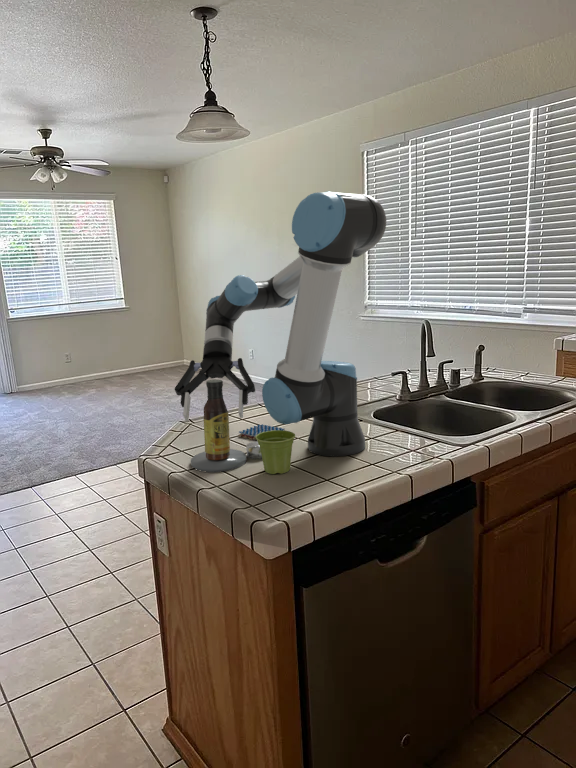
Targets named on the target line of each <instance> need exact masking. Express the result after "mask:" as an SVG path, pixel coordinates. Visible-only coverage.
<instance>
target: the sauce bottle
mask: <svg viewBox="0 0 576 768" xmlns="http://www.w3.org/2000/svg"><path fill="white" fill-rule="evenodd" d="M205 382H206V383H205V384H206V385H205V386H206V387H207V401H206V403H205V404H204V406H203V431H204V433H203V436H204V452H206V458H207V459H208V460H212V461H216V460H224V459H226V458H228V457H229V455H230V453H229V452H230V449H231V445H230V423H229V422H230V421H229V420H230V419H229V417H230V416H229V410H228V408H227V405H226V403H225V400H224V395H223V386H224V384H223V380H221V379H207V380H206V381H205Z"/></svg>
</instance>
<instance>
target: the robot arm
mask: <svg viewBox="0 0 576 768" xmlns="http://www.w3.org/2000/svg"><path fill="white" fill-rule="evenodd" d="M386 228H387V214H386V212H385V209H384V207H383V205H382V204H381V203H380V202H379V201H378V200H377V199H376V198H374V197H372V196H370V195H368V194H365V193H350V192H349V193H347V192H336V191H329V190H328V191H324V192H323V191H322V192H320V191H319V192H313V193H310V194H309V195H307V196H306V197H304V198H303V199H302V200H301V201H300V202H299V203H298V205H297V207H296V208H295V211H294V213H293V216H292V219H291V232H292V234H293V240H294V242H295V244H296V245H297V246H298V252H297V254H298V255H299V256H298V257H297V258H295V260H293V261H291V263H289V264H288V265H287V266H285V267H284V268H283V269H281V270H280V271H279V272H277V273H276V274H275V275H274V276H272V277H271V278H270V279H268V280H262V281H261V280H260V281H255V280H253V279H252V277H249V276H246V275H244V274H239V275H236V276H235V277H233V279H232V280H231V281H230V282H229V283H228V284H227V285H226V286H225V288H224V289H223V291H222V293H220V295H216V296H215V297H211V298H210V300H208V303H207V308H206V318H205V320H206V321H205V329H204V330H205V333H204V340H203V341H204V342H203V351H202V352H203V353H202V354H203V355H202V361H200V362H196V360H193V359H192V360H191V361H190V362H189V365H188V368H187V370H186V371H185V372H184V373H183V376H181V378H180V380H178V382H177V383H176V386H174V392H175V393H176V395H177V396H180V405H181V407H182V408H183V413H182V415H183V418H184V420H185V421H189V419H190V411H191V410H190V409H191V407H190V406H191V399H192V398H191V396H190V395H191V394H192V393H193V392H194V391H195V390H196V389H197V388H198V387H199V386H200V385H201V384H203V382H204V381H205V382H206V381H208V380H209V378H210V379H217V378H218V379H223V378H224V377H226V379H228V380H229V381H231V383H232V384H233V385H234V386H235V387H236V388H237V389H238V390H239V391H238V409H237V410H238V416H239V419H243V418H244V406H245V405H248V403H249V394H250V393H256V387H255V383H254V381H253V380H252V377H250V375H249V373H248V372H247V370H246V368H245V365H244V362H243V359H242V358H241V357H239V358H238V359H237V360H232V357H233V343H234V342H233V339H234V338H233V337H234V326H235V323H236V322H237V320H239V318H240V317H241V316H242V315H243V314H244V313H245V312H249V311H259V310H267V309H268V310H269V309H274V308H275V309H276V308H278V309H280V308H284V307H288V306H290V305H291V304H292V303H294V300H295V303H294V309H293V314H292V320H291V325H290V330H289V335H288V340H287V344H286V345H287V346H286V352H285V356H284V358H283V359H281V360H279V362H277V365H276V370H275V375H274V377H270V378H269V379H268V380H266V381H265V382H264V383H263V385H262V391H261V393H262V394H261V395H262V401H263V405H264V408H265V409H266V411H267V413H268V414H269V416H270V417H271V418H272V419H273V420H274V421H275V422H277V423H279V424H281V425H290V424H297V423H299V422H302V421H304V420H307V419H310V418H311V419H312V422H311V423H312V424H311V428H310V431H309V434H308V438H307V447H308V448H307V449H308V451H309V452H311V453H312V454H315V455H318V456H323V457H344V456H351V455H354V454H358V453H360V452H362V451H364V450H365V449H366V437H365V435H364V432H363V429H362V426H361V423H360V421H359V417H358V377H357V369H356V367H355V365H354V364H353V363H351V362H345V361H337V360H323V356H324V351H325V346H326V342H327V338H328V333H329V329H330V326H331V325H330V324H331V321H332V320H331V319H332V317H333V312H334V311H333V310H334V307H335V302H336V298H337V293H338V288H339V286H340V285H339V284H340V281H341V280H340V279H341V276H342V271H343V269H345V268H346V267H348V266H349V265H350V264H351V262H352V259H353V258H355V259H356V258H359V257H360V256H362V255H363V254H365V253H366V252H367V253H368V252H369V250H371V249H372V248H373V247H375V246H376V245H377V244H378V243H380V241H381V240H382V238H383V236H384V234H385V232H386ZM295 298H296V299H295ZM234 367H235V369H237V370H238V371H239V373H240V375H241V377H242V378H243V379H244V380H243V381H244V382H245V383H244V382H243V381H242V380H241V379H240V378H239V377H237V375H236V374H235V373H233V371H232V369H233V368H234ZM199 369H200V370H199ZM198 371H199V372H198ZM196 372H198V374H196ZM195 374H196V376H195Z"/></svg>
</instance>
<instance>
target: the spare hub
mask: <svg viewBox="0 0 576 768" xmlns="http://www.w3.org/2000/svg"><path fill="white" fill-rule="evenodd" d="M245 448H246V458H248V459H251V460H263V459H262V454H261V450H260V446H259V444H258V441H257V440H255V441H252V442H249V443H247V444H246V445H245Z"/></svg>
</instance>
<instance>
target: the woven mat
mask: <svg viewBox="0 0 576 768" xmlns="http://www.w3.org/2000/svg"><path fill="white" fill-rule="evenodd" d="M273 430H285V431H286V429H285V428H282V427H279V426H272V425H267V424H264V423H263V424H257V425H254V426H253V427H251V426H250V427H249V428H246V429H243V430H242V431H241V430H240V431H238V433H239V434H238V438H245V439H248V440H251V441H252V440H254V441H257V440H256V435H258V434H259V433H262V432H266V431H273Z"/></svg>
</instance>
